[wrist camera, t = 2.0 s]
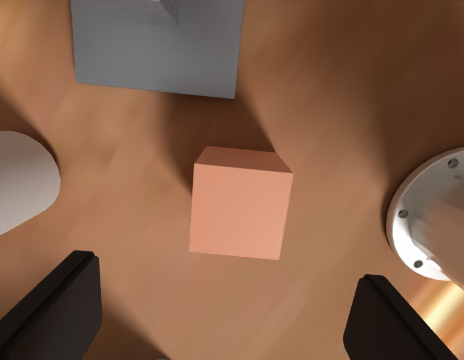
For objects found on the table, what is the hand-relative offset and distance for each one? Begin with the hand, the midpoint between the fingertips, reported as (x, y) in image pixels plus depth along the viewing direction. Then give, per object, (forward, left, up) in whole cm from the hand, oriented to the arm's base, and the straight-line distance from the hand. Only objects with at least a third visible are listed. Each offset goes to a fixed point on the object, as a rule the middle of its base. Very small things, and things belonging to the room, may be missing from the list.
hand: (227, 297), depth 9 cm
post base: (+6, -13, -14) cm, 21 cm away
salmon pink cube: (-1, 0, -14) cm, 14 cm away
